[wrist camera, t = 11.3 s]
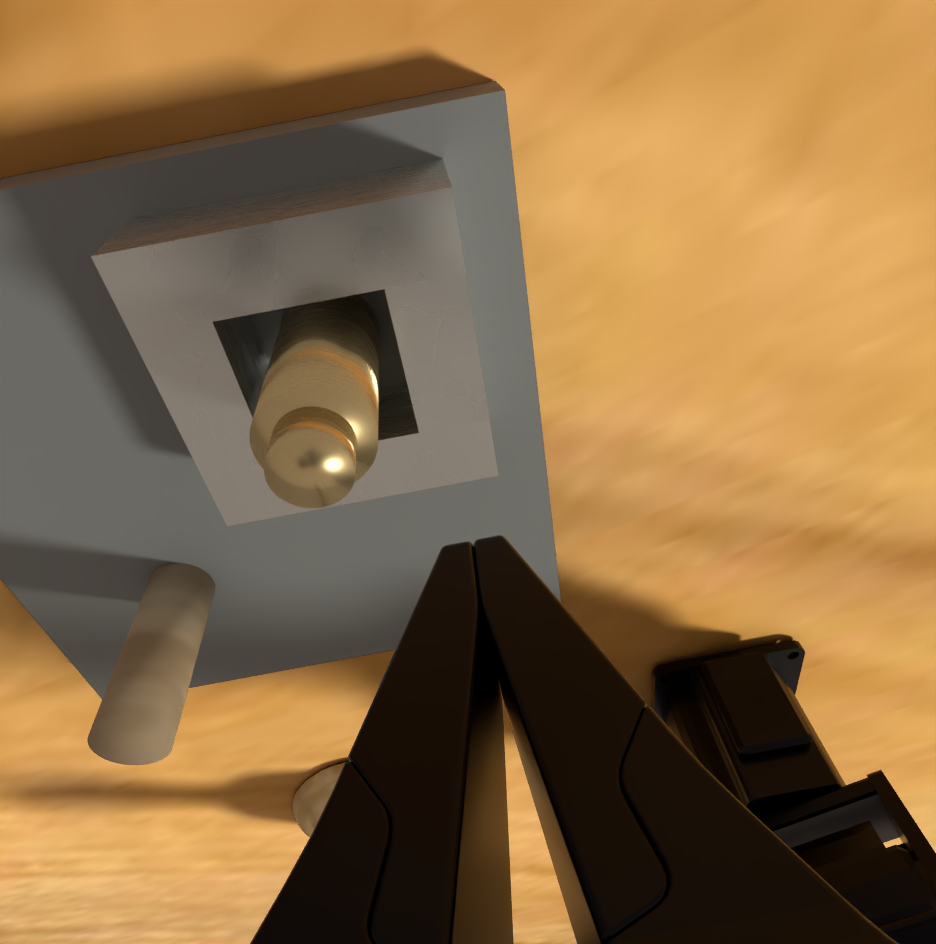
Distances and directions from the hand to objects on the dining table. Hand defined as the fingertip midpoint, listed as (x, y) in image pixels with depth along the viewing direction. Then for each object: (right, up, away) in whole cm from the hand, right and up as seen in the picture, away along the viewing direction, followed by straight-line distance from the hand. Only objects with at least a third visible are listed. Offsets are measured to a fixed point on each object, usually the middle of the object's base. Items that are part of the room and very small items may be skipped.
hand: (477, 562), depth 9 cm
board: (-7, +2, +11) cm, 13 cm away
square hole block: (-4, +5, +8) cm, 10 cm away
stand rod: (-9, -2, +12) cm, 16 cm away
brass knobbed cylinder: (-4, +5, +8) cm, 10 cm away
